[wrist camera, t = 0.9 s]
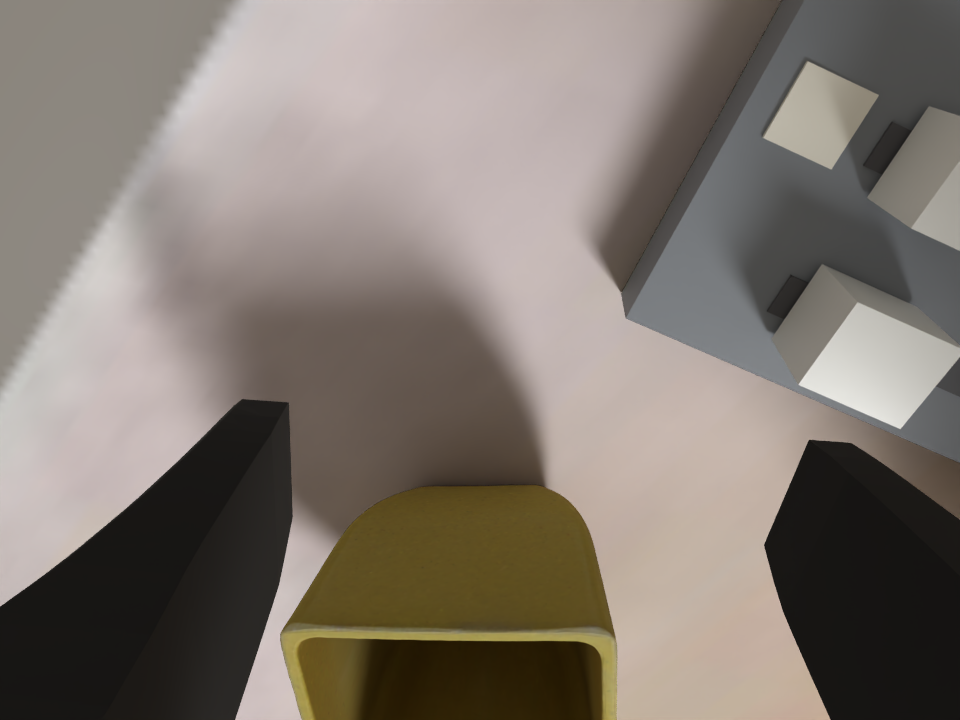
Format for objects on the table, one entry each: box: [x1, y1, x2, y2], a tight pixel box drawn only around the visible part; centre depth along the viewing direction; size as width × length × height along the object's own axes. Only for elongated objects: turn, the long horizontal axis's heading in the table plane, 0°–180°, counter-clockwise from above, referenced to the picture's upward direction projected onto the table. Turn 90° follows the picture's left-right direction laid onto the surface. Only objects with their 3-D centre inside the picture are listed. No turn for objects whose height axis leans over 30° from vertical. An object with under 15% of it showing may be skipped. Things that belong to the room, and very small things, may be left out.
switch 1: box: [772, 264, 960, 429], centre depth 20 cm, size 3×2×3 cm
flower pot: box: [280, 485, 617, 720], centre depth 25 cm, size 9×9×9 cm
